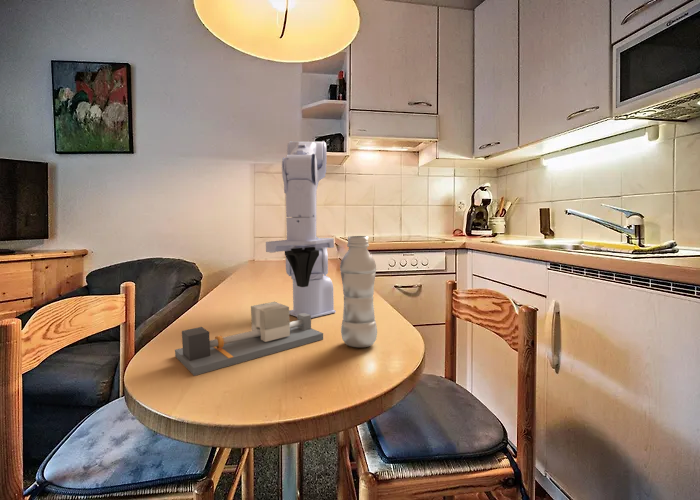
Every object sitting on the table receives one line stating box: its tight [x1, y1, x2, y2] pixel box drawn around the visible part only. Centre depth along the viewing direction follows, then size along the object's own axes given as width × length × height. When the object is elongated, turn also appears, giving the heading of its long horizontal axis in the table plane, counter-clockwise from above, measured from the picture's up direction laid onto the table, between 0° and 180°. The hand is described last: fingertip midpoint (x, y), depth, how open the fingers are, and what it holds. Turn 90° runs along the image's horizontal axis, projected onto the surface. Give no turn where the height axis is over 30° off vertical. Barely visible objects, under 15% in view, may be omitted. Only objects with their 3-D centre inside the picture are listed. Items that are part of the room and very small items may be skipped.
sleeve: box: [250, 301, 291, 342], centre depth 68 cm, size 5×5×6 cm
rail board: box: [174, 313, 324, 377], centre depth 66 cm, size 24×10×5 cm, turn 130°
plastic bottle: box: [339, 235, 378, 348], centre depth 66 cm, size 6×7×20 cm
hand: (302, 286), depth 72 cm, fingers closed
